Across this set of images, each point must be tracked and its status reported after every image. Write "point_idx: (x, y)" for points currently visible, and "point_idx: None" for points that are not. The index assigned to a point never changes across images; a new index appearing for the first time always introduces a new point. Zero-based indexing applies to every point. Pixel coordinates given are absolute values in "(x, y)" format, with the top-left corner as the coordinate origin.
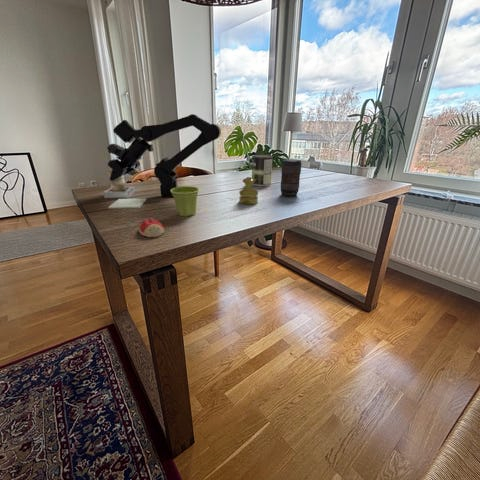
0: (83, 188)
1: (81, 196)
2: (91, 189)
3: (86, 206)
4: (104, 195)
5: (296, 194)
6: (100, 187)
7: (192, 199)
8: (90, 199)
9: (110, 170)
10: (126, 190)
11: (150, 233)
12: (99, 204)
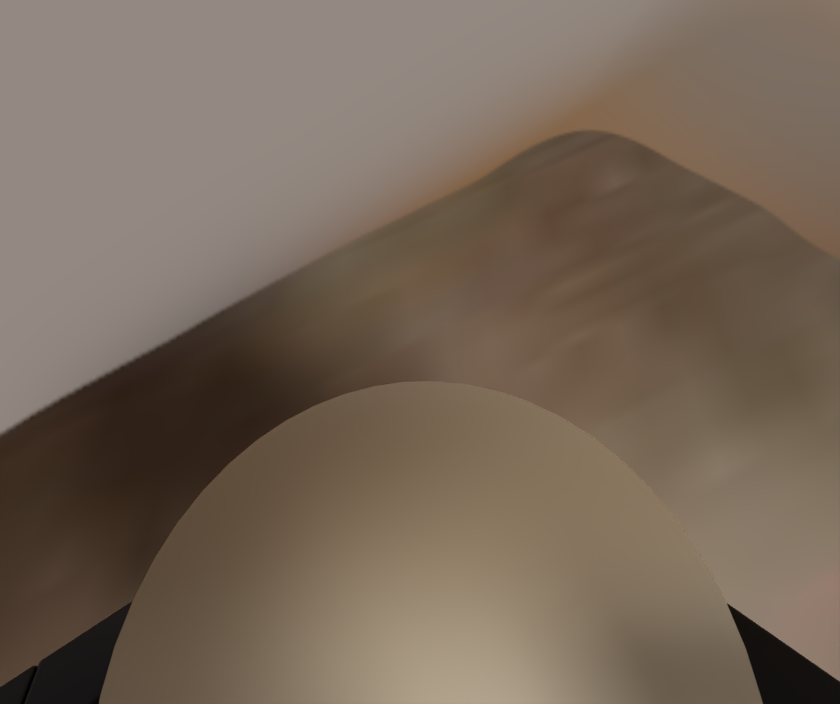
0: (641, 144)
1: (379, 247)
2: (627, 206)
3: (7, 445)
4: None
5: None
6: (727, 235)
7: None
8: (264, 361)
9: (156, 565)
10: None
11: None
12: (30, 546)
